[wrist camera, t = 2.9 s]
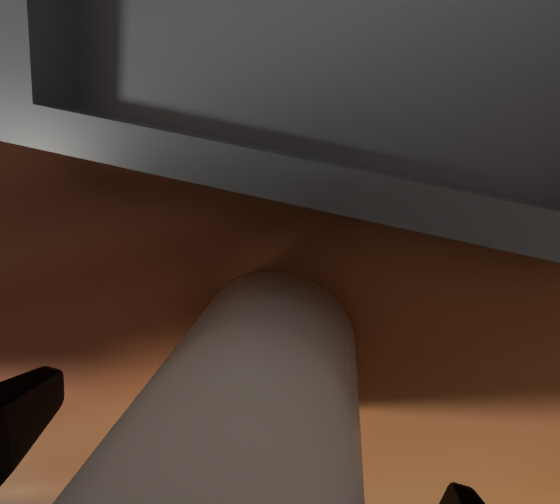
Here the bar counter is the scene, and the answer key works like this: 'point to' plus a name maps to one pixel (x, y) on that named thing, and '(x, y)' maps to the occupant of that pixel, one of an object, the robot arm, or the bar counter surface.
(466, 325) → the bar counter surface
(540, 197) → the tray
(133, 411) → the ceramic cup
